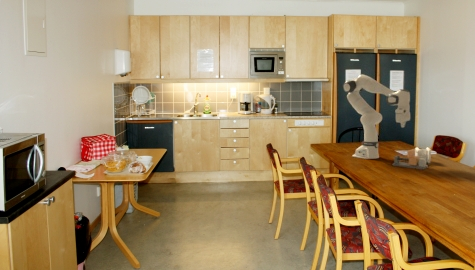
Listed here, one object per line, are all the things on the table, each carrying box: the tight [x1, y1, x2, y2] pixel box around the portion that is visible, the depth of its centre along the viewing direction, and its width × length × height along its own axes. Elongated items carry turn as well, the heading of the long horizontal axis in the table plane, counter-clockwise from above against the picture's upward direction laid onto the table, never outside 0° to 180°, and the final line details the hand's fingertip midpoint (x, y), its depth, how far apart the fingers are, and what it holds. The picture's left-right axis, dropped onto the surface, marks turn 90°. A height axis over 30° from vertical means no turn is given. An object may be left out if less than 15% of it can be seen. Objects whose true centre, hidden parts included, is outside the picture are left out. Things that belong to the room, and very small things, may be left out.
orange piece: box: [406, 148, 420, 165], centre depth 345 cm, size 6×12×11 cm, turn 137°
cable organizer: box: [414, 146, 432, 165], centre depth 362 cm, size 15×11×12 cm
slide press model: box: [392, 155, 429, 170], centre depth 348 cm, size 24×10×7 cm, turn 47°
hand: (402, 127), depth 358 cm, fingers closed
